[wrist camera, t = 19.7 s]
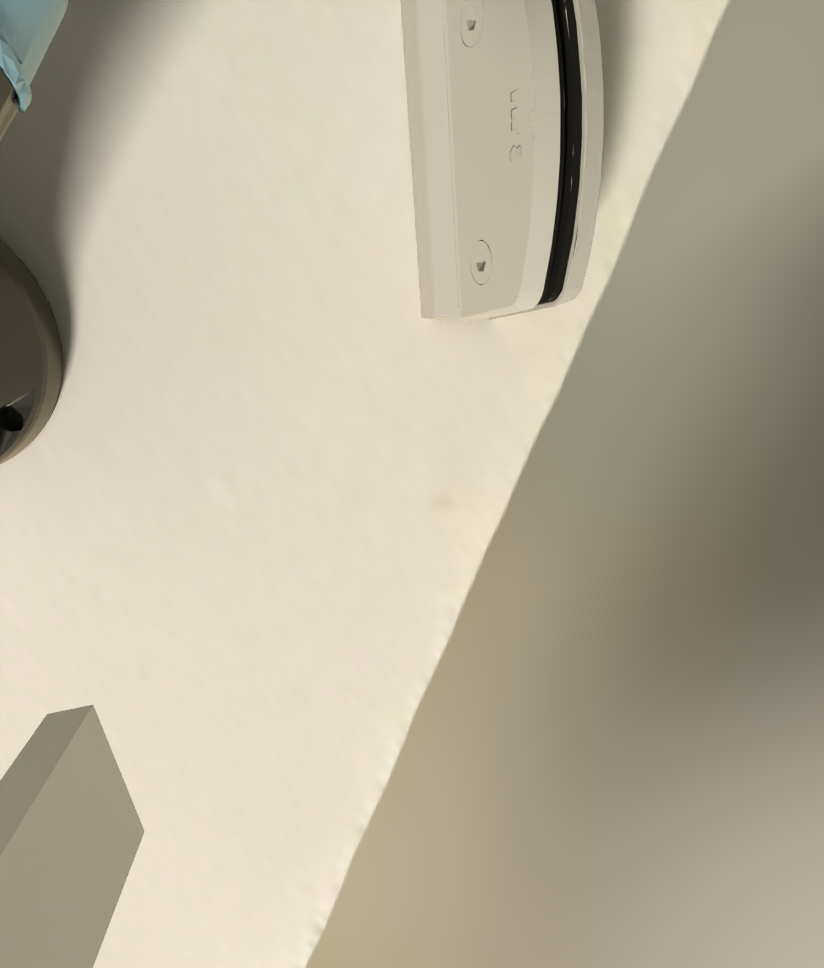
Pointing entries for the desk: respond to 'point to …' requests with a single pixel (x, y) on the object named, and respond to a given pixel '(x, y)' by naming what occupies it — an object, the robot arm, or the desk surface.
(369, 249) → the desk surface
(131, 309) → the desk surface
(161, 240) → the desk surface
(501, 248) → the white curved block
